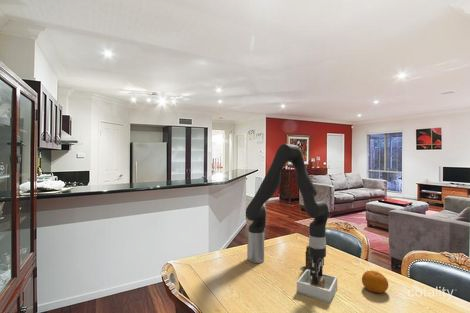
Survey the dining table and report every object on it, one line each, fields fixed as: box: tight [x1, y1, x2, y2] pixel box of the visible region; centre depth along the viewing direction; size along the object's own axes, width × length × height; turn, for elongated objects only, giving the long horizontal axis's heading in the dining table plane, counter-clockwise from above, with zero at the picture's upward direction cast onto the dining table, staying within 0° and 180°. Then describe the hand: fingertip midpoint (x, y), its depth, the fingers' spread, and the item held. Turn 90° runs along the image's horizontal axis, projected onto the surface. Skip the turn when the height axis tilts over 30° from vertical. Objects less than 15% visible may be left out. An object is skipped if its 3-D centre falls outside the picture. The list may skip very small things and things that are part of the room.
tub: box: [296, 269, 338, 304], centre depth 111 cm, size 14×14×5 cm
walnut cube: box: [310, 275, 324, 289], centre depth 111 cm, size 5×5×5 cm
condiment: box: [299, 245, 313, 272], centre depth 132 cm, size 7×8×12 cm
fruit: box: [361, 270, 389, 294], centre depth 111 cm, size 10×10×8 cm
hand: (317, 280), depth 111 cm, fingers open, 8 cm apart
